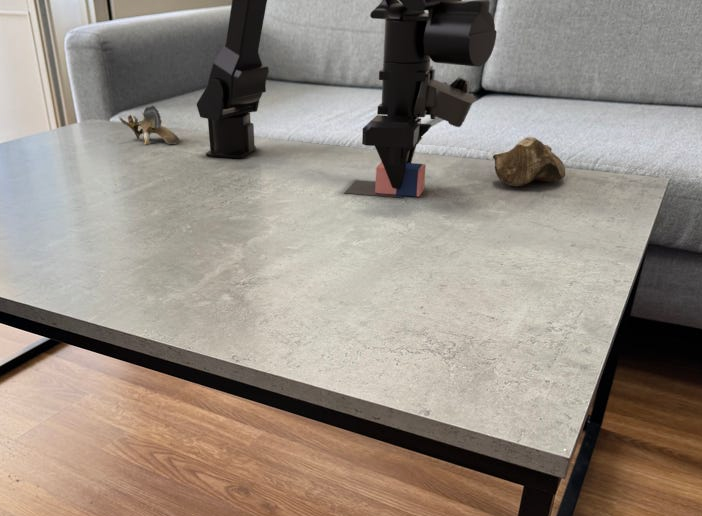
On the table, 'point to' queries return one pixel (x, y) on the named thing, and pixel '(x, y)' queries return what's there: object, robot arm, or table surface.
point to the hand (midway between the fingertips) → (399, 184)
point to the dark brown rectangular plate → (367, 189)
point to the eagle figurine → (150, 126)
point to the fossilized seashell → (528, 163)
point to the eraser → (410, 183)
